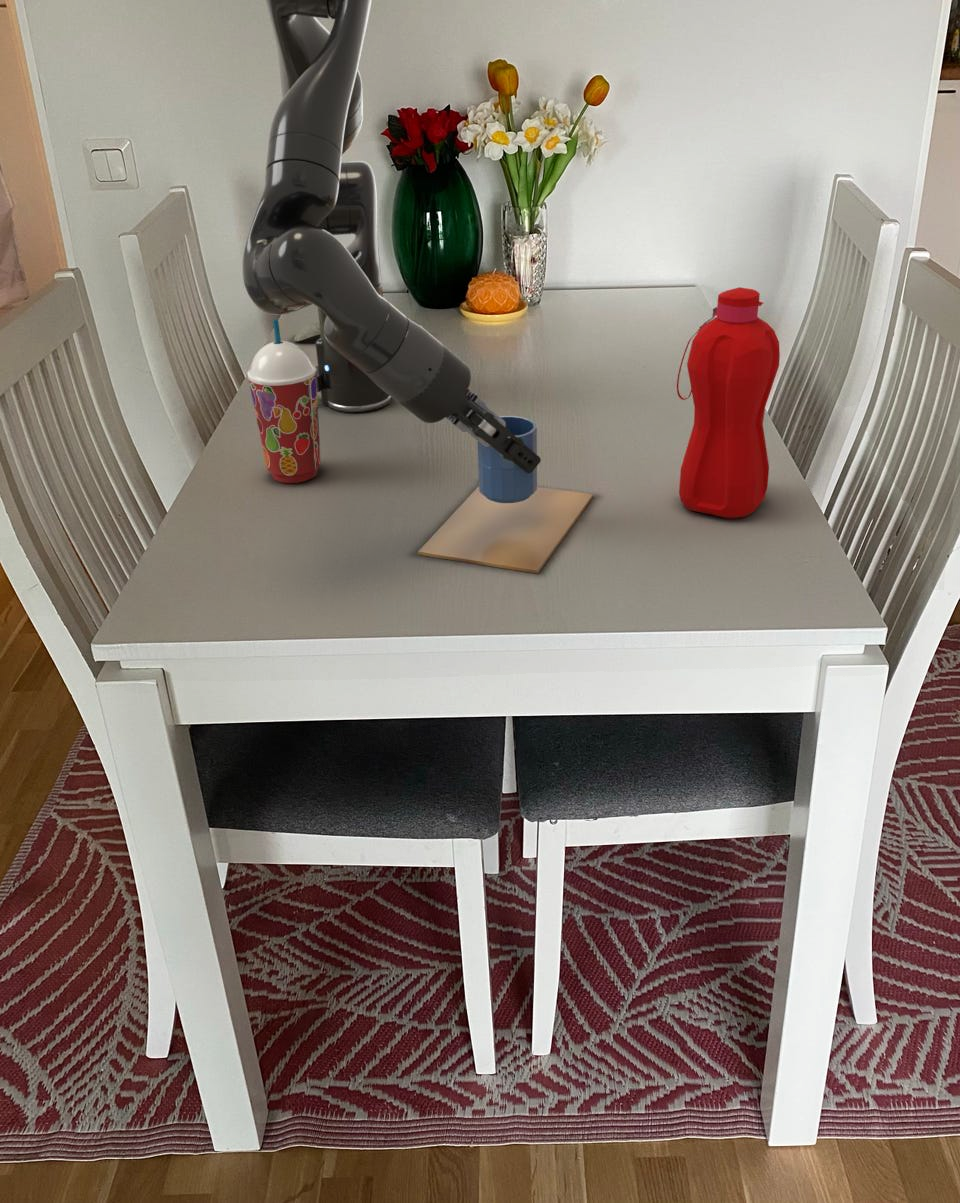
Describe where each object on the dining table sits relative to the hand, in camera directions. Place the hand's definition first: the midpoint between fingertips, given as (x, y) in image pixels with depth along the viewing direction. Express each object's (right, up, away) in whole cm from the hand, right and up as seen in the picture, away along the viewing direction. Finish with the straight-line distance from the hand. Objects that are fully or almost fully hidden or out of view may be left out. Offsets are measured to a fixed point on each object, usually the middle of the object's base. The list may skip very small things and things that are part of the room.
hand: (520, 454), depth 128 cm
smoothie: (-28, 0, +18) cm, 33 cm away
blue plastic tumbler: (-1, -4, +2) cm, 5 cm away
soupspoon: (-25, +28, +67) cm, 77 cm away
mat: (-1, -8, +4) cm, 9 cm away
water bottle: (+23, -5, +7) cm, 25 cm away
